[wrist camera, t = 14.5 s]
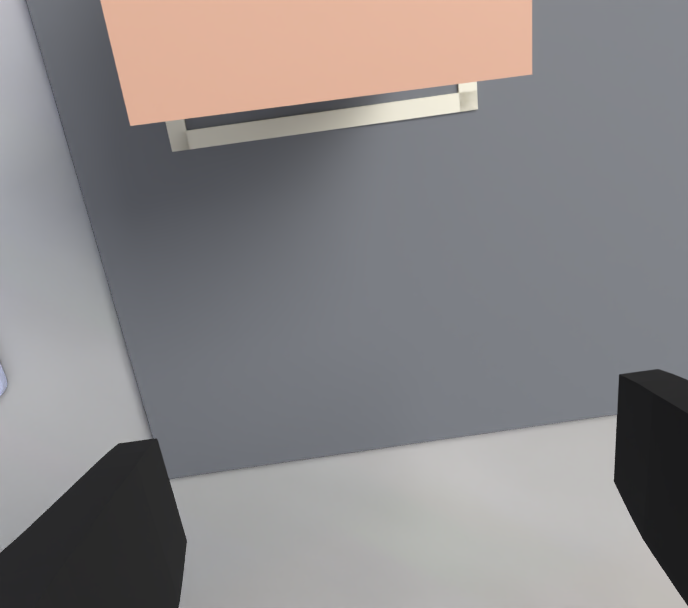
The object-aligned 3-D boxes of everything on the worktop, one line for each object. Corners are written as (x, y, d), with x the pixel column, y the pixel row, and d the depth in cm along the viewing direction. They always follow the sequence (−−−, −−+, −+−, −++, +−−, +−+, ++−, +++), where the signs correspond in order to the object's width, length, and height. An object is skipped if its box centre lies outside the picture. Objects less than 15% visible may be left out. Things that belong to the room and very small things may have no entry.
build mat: (167, 471, 22) (164, 481, 22) (-31, -220, 15) (-42, -228, 14) (707, 394, 22) (715, 401, 22) (786, -329, 15) (802, -341, 14)
